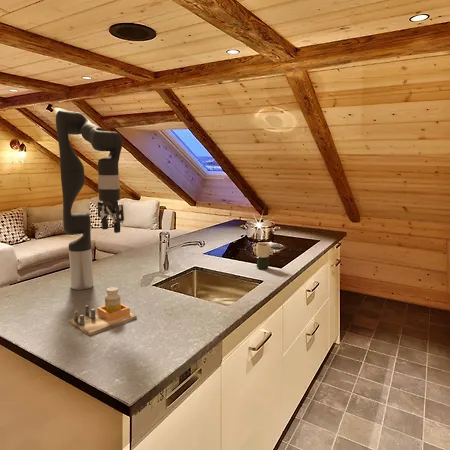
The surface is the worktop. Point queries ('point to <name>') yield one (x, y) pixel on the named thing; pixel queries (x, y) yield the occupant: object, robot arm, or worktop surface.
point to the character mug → (262, 254)
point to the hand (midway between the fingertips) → (111, 230)
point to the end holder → (113, 313)
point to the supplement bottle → (112, 300)
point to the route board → (101, 323)
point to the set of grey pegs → (81, 321)
